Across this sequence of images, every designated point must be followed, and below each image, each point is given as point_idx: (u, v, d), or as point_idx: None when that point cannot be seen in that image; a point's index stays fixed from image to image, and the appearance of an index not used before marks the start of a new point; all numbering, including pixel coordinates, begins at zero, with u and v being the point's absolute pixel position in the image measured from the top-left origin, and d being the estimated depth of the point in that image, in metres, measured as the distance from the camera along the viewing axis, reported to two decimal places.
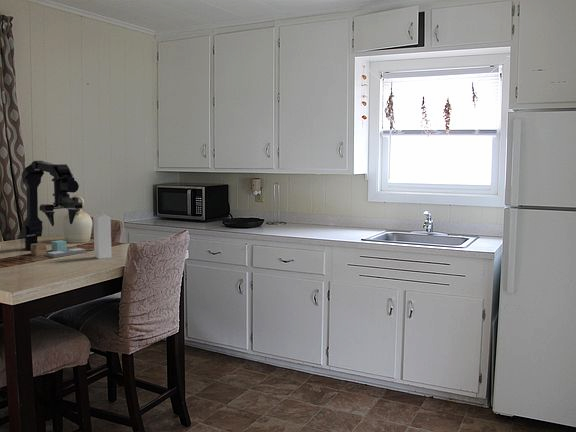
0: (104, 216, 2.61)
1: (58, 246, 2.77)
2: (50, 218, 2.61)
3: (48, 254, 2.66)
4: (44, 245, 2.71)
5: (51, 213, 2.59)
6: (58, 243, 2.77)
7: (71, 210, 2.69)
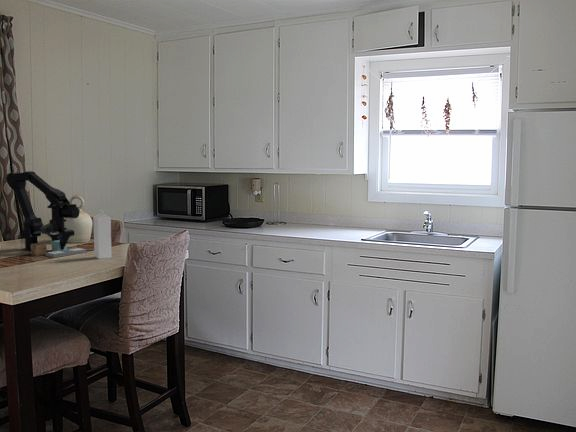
0: (104, 216, 2.61)
1: (58, 246, 2.77)
2: None
3: (48, 254, 2.66)
4: (44, 245, 2.71)
5: (49, 236, 2.80)
6: (58, 243, 2.77)
7: None
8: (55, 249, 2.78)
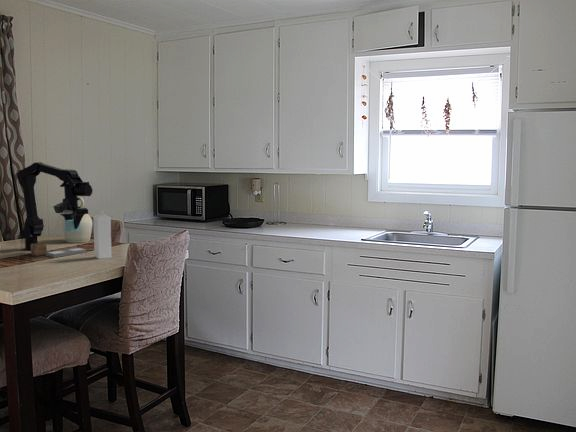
0: (104, 216, 2.61)
1: (72, 225, 2.73)
2: None
3: (48, 254, 2.66)
4: (44, 245, 2.71)
5: (62, 215, 2.76)
6: (72, 222, 2.73)
7: None
8: (69, 228, 2.73)
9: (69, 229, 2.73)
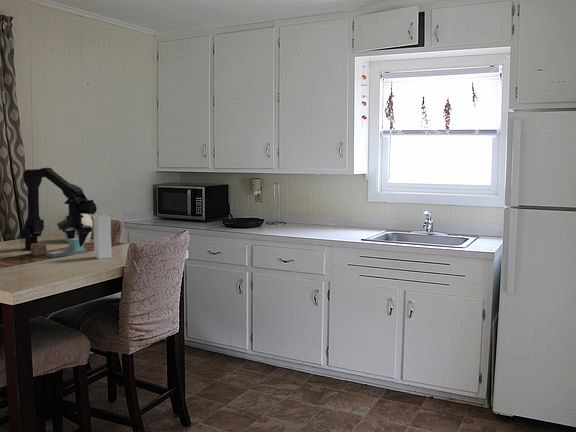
0: (104, 216, 2.61)
1: (75, 244, 2.73)
2: None
3: (48, 254, 2.66)
4: (44, 245, 2.71)
5: (64, 232, 2.77)
6: (75, 241, 2.73)
7: None
8: (72, 247, 2.74)
9: (72, 248, 2.74)
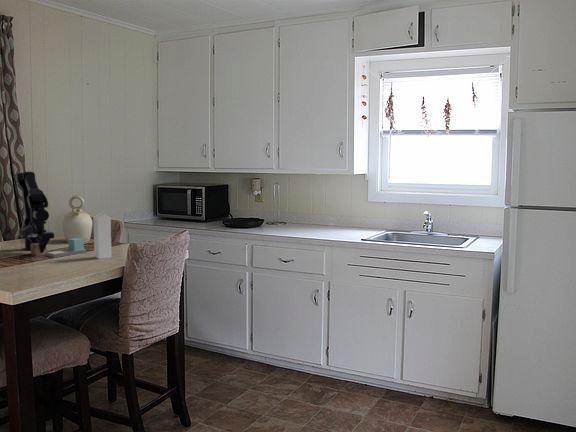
0: (104, 216, 2.61)
1: (75, 244, 2.73)
2: None
3: (48, 254, 2.66)
4: None
5: (28, 238, 2.72)
6: (75, 241, 2.73)
7: None
8: (72, 247, 2.74)
9: (72, 248, 2.74)
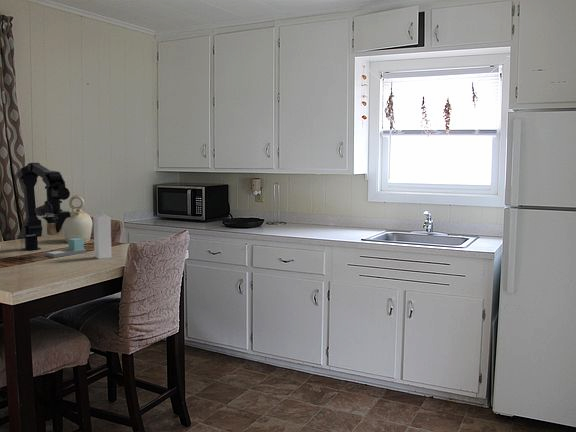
0: (104, 216, 2.61)
1: (75, 244, 2.73)
2: None
3: (48, 254, 2.66)
4: None
5: (44, 218, 2.67)
6: (75, 241, 2.73)
7: None
8: (72, 247, 2.74)
9: (72, 248, 2.74)
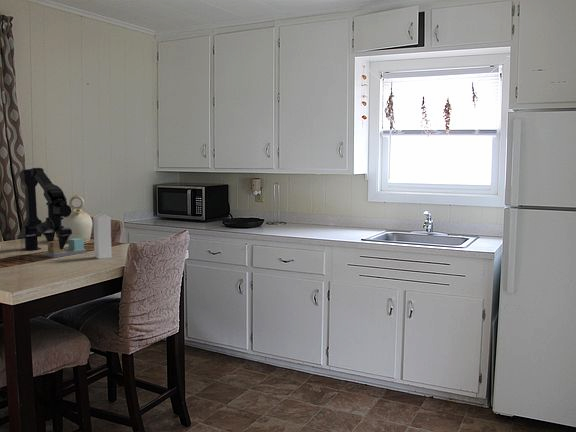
0: (104, 216, 2.61)
1: (75, 244, 2.73)
2: None
3: (48, 254, 2.66)
4: None
5: (43, 234, 2.69)
6: (75, 241, 2.73)
7: None
8: (72, 247, 2.74)
9: (72, 248, 2.74)
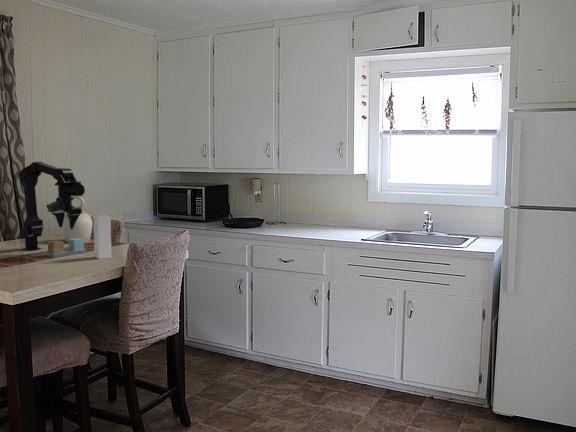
0: (104, 216, 2.61)
1: (75, 244, 2.73)
2: None
3: (48, 254, 2.66)
4: (61, 243, 2.67)
5: (53, 214, 2.73)
6: (75, 241, 2.73)
7: None
8: (72, 247, 2.74)
9: (72, 248, 2.74)
